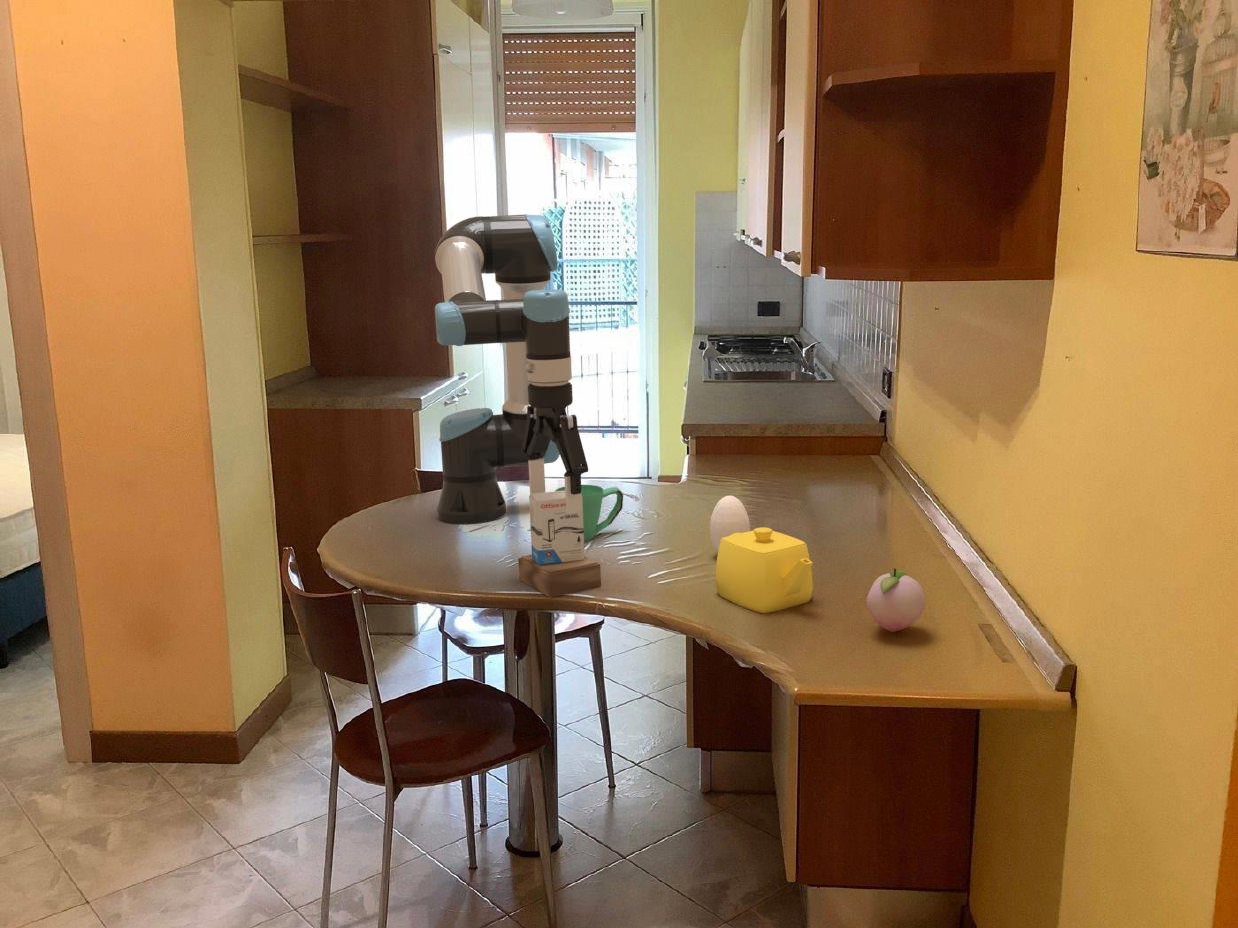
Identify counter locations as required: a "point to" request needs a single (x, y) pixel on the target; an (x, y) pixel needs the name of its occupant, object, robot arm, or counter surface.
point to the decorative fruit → (896, 600)
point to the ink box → (555, 529)
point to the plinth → (560, 575)
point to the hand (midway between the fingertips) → (555, 503)
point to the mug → (597, 508)
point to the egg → (728, 519)
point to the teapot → (764, 570)
